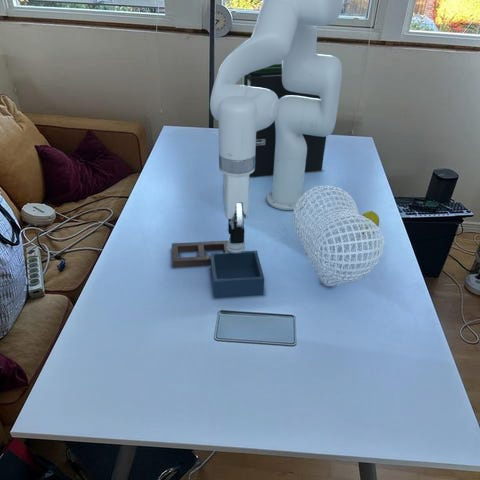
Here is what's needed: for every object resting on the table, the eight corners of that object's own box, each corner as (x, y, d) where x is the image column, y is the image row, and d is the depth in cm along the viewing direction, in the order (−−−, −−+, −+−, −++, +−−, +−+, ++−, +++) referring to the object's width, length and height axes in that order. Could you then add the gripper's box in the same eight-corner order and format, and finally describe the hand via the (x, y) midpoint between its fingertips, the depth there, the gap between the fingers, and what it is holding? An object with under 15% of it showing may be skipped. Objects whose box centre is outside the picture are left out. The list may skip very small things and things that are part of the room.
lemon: (375, 242, 133) (382, 217, 128) (356, 239, 134) (361, 214, 128) (375, 232, 137) (381, 207, 132) (356, 230, 138) (361, 205, 132)
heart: (280, 256, 127) (287, 178, 112) (333, 249, 130) (347, 173, 115) (317, 324, 107) (331, 240, 92) (379, 314, 110) (403, 232, 95)
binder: (310, 155, 177) (321, 62, 156) (322, 172, 167) (336, 74, 145) (240, 160, 173) (241, 65, 152) (248, 178, 162) (251, 78, 141)
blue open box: (210, 269, 122) (210, 252, 118) (256, 266, 123) (256, 250, 120) (214, 298, 113) (213, 281, 110) (263, 295, 114) (264, 278, 111)
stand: (172, 249, 128) (171, 243, 127) (228, 246, 130) (228, 240, 129) (172, 267, 122) (172, 261, 121) (232, 264, 124) (232, 258, 122)
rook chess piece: (247, 246, 113) (249, 216, 107) (241, 255, 109) (242, 225, 104) (230, 242, 114) (230, 212, 108) (223, 251, 110) (223, 221, 105)
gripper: (215, 147, 103) (217, 220, 115) (222, 180, 91) (223, 258, 103) (249, 146, 104) (247, 219, 116) (260, 178, 92) (257, 256, 104)
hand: (236, 237), depth 109 cm, fingers closed on rook chess piece, 3 cm apart
